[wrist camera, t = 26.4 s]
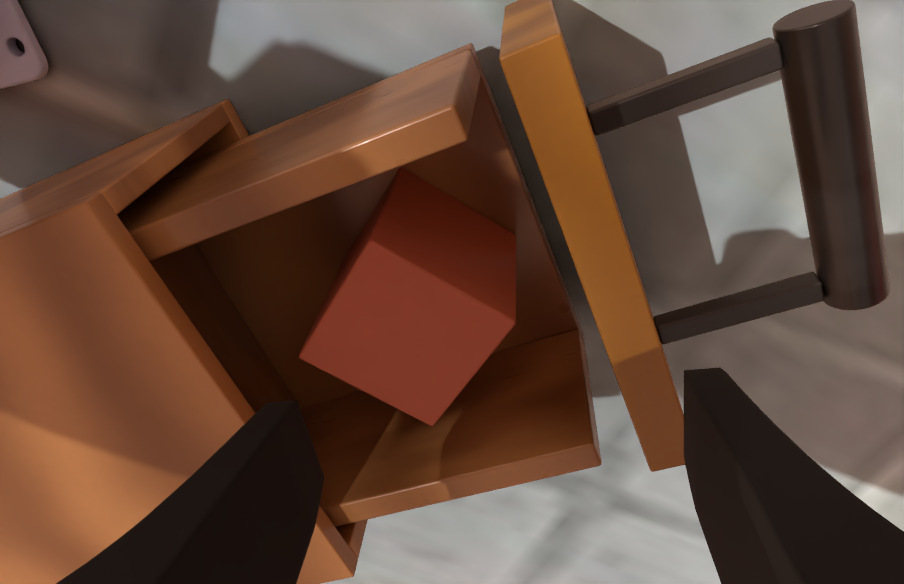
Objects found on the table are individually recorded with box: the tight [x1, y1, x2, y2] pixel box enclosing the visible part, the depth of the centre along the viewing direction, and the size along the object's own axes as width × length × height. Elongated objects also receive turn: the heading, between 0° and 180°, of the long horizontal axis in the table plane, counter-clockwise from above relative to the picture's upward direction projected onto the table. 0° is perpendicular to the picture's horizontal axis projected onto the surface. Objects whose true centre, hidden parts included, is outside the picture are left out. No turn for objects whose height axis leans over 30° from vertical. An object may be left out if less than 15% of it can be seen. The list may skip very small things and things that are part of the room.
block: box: [299, 168, 516, 426], centre depth 19 cm, size 4×4×5 cm
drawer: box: [117, 0, 890, 527], centre depth 18 cm, size 19×11×6 cm, turn 113°
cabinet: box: [0, 99, 368, 584], centre depth 22 cm, size 14×12×8 cm
